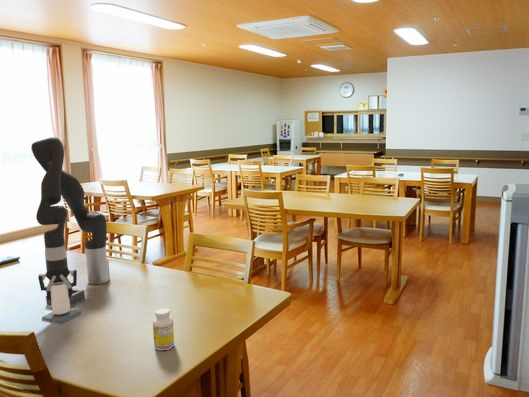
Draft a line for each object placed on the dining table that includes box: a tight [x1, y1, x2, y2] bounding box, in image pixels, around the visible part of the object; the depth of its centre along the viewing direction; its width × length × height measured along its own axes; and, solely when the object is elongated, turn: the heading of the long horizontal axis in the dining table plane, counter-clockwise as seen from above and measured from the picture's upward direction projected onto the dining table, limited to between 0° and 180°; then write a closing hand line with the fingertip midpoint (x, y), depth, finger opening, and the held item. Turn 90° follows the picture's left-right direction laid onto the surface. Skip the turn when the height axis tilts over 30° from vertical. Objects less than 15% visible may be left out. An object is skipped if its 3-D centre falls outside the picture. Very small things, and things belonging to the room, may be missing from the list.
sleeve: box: [45, 287, 86, 307], centre depth 197 cm, size 11×11×4 cm
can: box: [50, 282, 71, 315], centre depth 181 cm, size 6×6×12 cm
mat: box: [41, 308, 82, 324], centre depth 183 cm, size 10×10×1 cm
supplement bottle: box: [152, 307, 175, 351], centre depth 155 cm, size 7×7×13 cm
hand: (60, 297), depth 182 cm, fingers closed on can, 6 cm apart
